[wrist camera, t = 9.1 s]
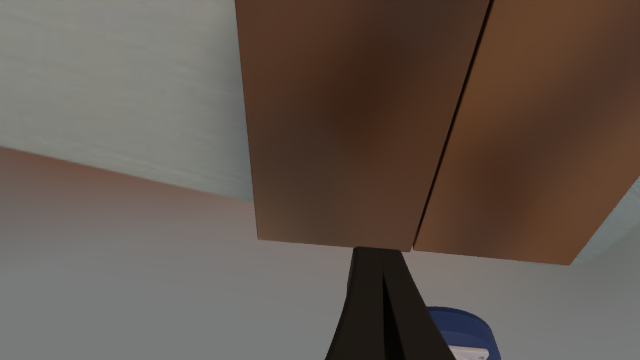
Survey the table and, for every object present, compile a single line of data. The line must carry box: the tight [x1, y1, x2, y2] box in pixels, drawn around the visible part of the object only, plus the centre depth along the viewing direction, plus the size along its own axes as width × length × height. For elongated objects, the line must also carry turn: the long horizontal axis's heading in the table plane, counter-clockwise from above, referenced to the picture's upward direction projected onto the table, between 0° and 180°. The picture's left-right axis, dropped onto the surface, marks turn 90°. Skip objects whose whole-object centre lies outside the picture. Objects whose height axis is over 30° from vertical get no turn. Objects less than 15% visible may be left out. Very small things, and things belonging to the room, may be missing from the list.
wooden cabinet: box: [235, 0, 490, 252], centre depth 14 cm, size 14×12×7 cm
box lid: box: [412, 0, 640, 265], centre depth 12 cm, size 7×12×1 cm, turn 177°
